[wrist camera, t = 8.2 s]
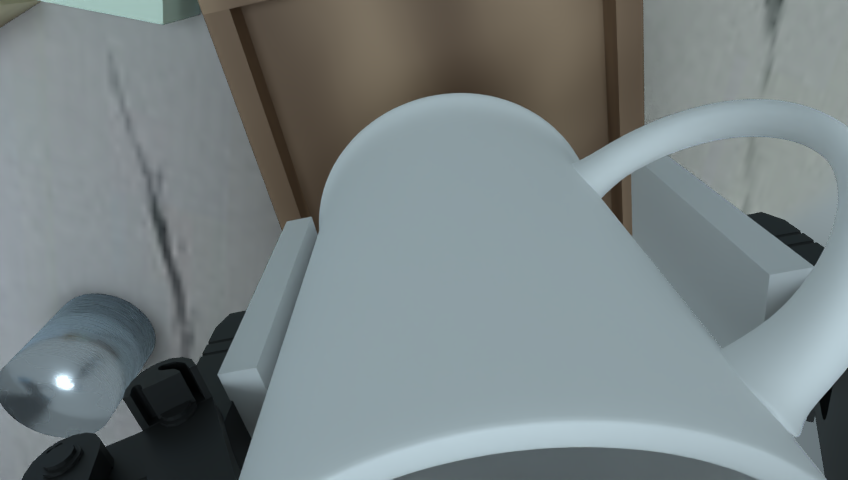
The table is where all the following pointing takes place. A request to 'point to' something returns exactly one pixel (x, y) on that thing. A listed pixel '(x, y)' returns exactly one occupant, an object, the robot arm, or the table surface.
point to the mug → (535, 314)
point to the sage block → (139, 8)
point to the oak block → (14, 9)
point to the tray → (421, 74)
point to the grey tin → (77, 366)
